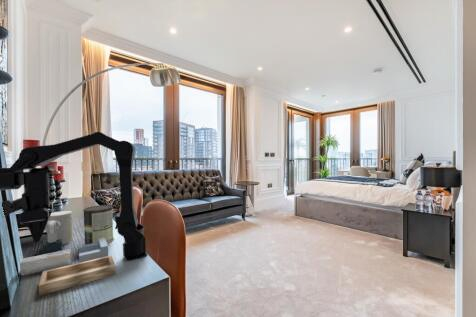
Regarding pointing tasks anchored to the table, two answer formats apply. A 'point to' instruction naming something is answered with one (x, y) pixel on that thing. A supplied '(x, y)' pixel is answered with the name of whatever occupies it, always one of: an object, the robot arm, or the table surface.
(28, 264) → the steel block
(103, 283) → the table surface
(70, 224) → the cup
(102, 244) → the bracket
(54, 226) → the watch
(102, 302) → the table surface
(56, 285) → the oak tray
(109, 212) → the coffee can
